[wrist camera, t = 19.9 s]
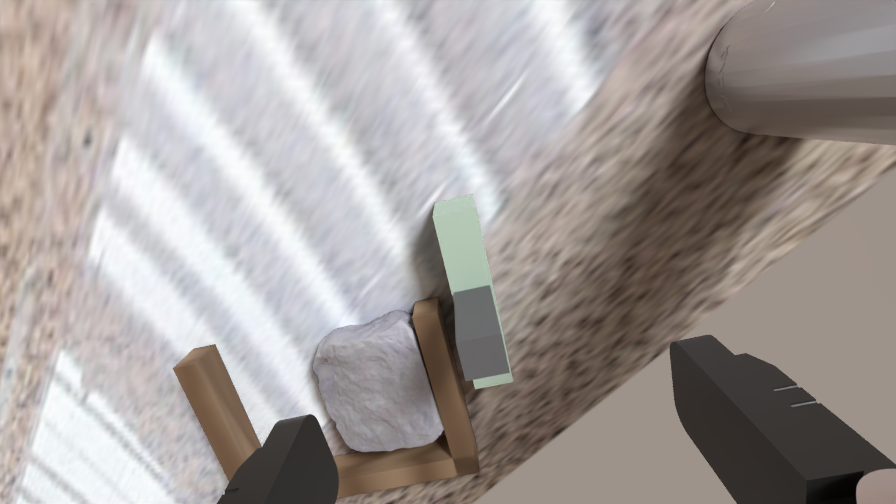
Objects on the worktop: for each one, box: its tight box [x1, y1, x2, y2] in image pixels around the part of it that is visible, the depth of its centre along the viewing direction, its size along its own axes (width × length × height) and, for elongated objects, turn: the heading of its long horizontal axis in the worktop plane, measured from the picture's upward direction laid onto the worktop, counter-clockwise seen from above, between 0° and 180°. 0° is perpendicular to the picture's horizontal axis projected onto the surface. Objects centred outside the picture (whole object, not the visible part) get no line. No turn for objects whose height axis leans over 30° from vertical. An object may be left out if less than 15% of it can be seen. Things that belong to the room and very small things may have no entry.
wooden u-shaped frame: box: [173, 297, 479, 498], centre depth 38 cm, size 22×16×3 cm
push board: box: [433, 194, 513, 389], centre depth 30 cm, size 14×3×12 cm, turn 13°
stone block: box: [313, 310, 444, 452], centre depth 37 cm, size 12×5×10 cm
